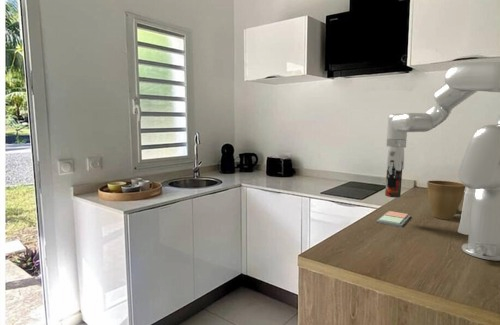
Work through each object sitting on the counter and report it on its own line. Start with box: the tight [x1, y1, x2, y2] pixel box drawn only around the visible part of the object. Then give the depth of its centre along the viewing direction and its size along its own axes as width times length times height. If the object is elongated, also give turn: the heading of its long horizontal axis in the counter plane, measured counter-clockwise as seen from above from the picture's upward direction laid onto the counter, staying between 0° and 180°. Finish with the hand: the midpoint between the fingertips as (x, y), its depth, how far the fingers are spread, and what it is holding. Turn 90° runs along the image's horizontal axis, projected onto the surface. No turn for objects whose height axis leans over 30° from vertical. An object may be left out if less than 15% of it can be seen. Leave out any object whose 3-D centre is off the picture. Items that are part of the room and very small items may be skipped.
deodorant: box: [384, 162, 403, 199], centre depth 138 cm, size 6×6×15 cm
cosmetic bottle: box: [457, 187, 475, 236], centre depth 126 cm, size 6×6×22 cm
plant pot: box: [426, 180, 466, 221], centre depth 147 cm, size 15×15×16 cm
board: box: [375, 210, 411, 228], centre depth 144 cm, size 18×10×1 cm, turn 143°
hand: (393, 185), depth 138 cm, fingers closed on deodorant, 5 cm apart
